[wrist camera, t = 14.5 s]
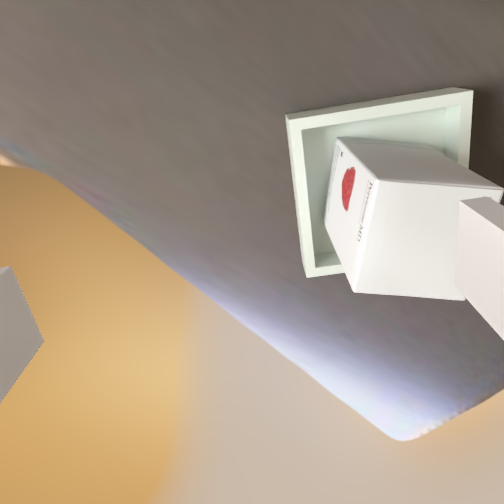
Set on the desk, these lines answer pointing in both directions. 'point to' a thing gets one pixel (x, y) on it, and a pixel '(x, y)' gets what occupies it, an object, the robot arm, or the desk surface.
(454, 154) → the tote
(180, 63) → the desk surface
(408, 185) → the supplement box
